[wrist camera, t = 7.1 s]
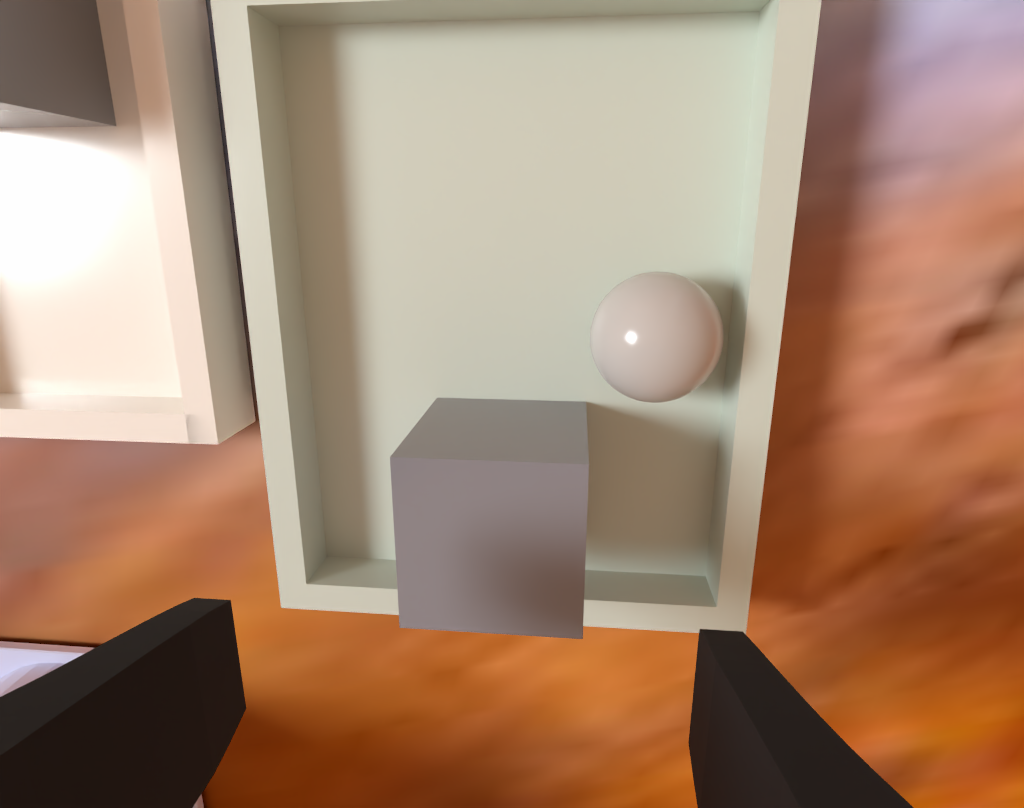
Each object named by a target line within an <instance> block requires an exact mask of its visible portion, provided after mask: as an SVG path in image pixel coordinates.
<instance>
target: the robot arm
mask: <svg viewBox="0 0 1024 808" xmlns="http://www.w3.org/2000/svg"><path fill="white" fill-rule="evenodd" d="M245 710H246V705H245V698H244V691H243V684H242V677H241V670H240V663H239V656H238V649H237V642H236V635H235V628H234V621H233V614H232V607H231V600H218V599H201V598H193V599H191V600H189V601H186V602H184V603H182V604H179V605H177V606H175V607H173V608H171V609H169V610H167V611H165V612H163V613H161V614H159V615H157V616H155V617H153V618H151V619H149V620H147V621H145V622H143V623H141V624H139V625H137V626H136V627H134V628H132V629H130V630H128V631H126V632H124V633H122V634H120V635H119V636H117V637H115V638H113V639H111V640H109V641H107V642H105V643H104V644H102V645H100V646H98V647H96V648H92V647H78V646H63V645H49V644H34V643H19V642H5V641H0V808H204V805H203V799H202V792H203V791H204V789H205V787H206V786H207V784H208V783H209V781H210V779H211V778H212V776H213V775H214V773H215V771H216V769H217V767H218V765H219V763H220V761H221V759H222V757H223V755H224V753H225V751H226V749H227V747H228V745H229V744H230V741H231V739H232V737H233V735H234V733H235V731H236V729H237V727H238V724H239V722H240V720H241V718H242V716H243V714H244V712H245ZM689 749H690V756H691V764H692V771H693V778H694V785H695V792H696V799H697V805H698V808H913V807H912V806H911V805H910V804H909V803H908V802H907V801H906V800H905V799H904V798H903V797H902V796H901V795H899V794H898V793H897V792H896V791H895V790H894V789H893V788H892V787H891V786H890V785H889V784H888V783H887V782H886V781H884V780H883V779H882V778H881V777H880V776H879V775H878V774H877V773H876V772H875V771H874V770H873V769H872V768H871V767H870V766H869V765H868V764H867V763H866V762H865V761H864V760H863V759H862V758H861V757H860V756H859V755H857V754H856V753H855V752H854V751H853V750H852V749H851V748H850V747H849V746H848V745H847V744H846V743H845V741H844V740H843V739H842V738H841V737H840V736H839V735H838V734H837V733H836V732H835V731H834V730H833V729H832V728H831V727H830V726H829V725H828V724H827V723H826V722H825V721H824V720H823V719H822V718H821V717H820V716H819V715H818V714H817V712H816V711H815V710H814V709H813V708H812V707H811V706H810V705H809V704H808V703H807V702H806V701H805V700H804V699H803V697H802V696H801V695H800V694H799V693H798V692H797V691H796V690H795V689H794V688H793V686H792V685H791V684H790V683H789V682H788V681H787V680H786V679H785V678H784V677H783V675H782V674H781V673H780V672H779V671H778V670H777V669H776V668H775V667H774V665H773V664H772V663H771V662H770V661H769V660H768V659H767V658H766V657H765V655H764V654H763V653H762V652H761V651H760V650H759V649H758V648H757V647H756V645H755V644H754V643H753V642H752V641H751V640H750V639H749V638H748V637H747V636H746V635H745V633H744V632H743V631H727V630H710V629H700V630H699V641H698V651H697V661H696V672H695V682H694V693H693V703H692V713H691V724H690V734H689Z"/></svg>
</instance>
